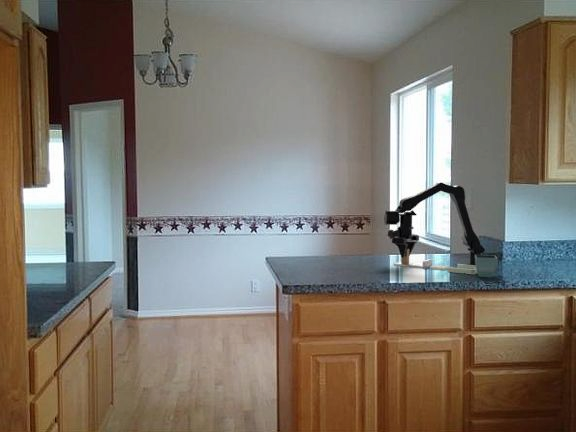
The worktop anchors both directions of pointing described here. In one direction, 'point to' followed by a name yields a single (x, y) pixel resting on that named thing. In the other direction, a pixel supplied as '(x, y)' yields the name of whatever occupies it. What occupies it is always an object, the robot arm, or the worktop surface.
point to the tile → (439, 267)
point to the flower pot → (486, 265)
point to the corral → (463, 269)
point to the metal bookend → (406, 263)
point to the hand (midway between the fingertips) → (405, 256)
